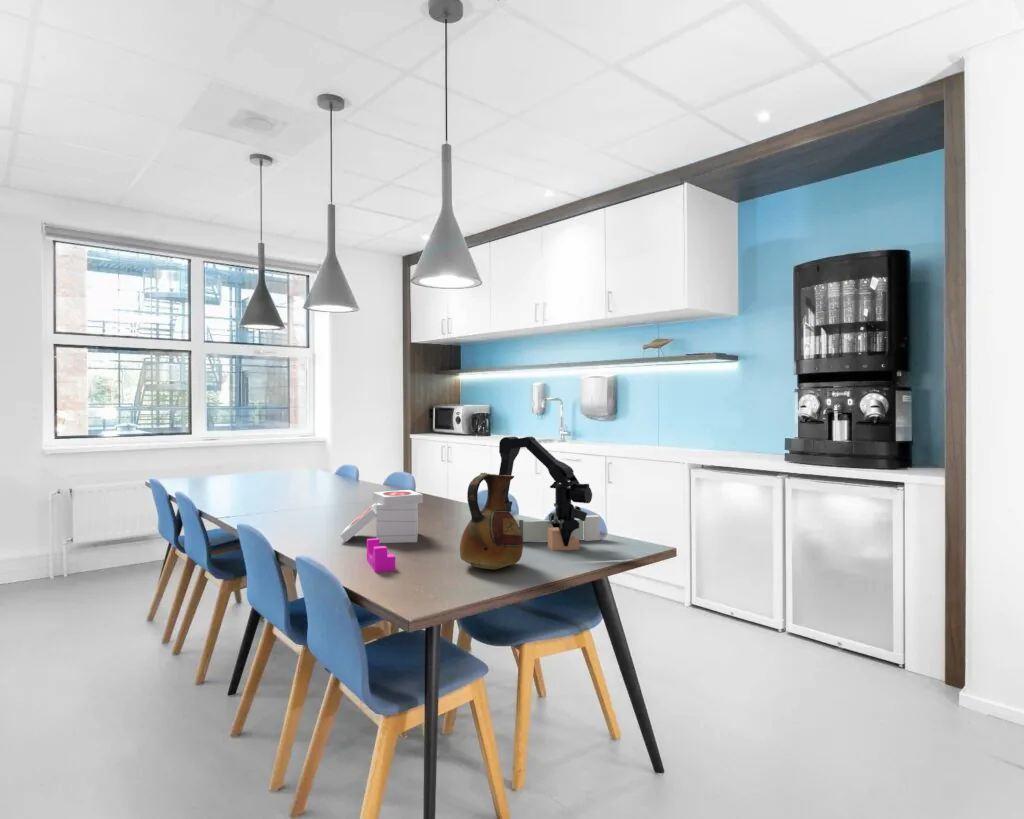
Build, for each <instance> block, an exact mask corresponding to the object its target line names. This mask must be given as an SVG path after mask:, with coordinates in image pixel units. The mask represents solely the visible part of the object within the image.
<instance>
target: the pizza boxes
mask: <svg viewBox="0 0 1024 819" xmlns="http://www.w3.org/2000/svg"><path fill="white" fill-rule="evenodd" d="M372 494H373V495H372V501H373V502H374V504H371V506H370V507H369V508H367V509H366V510H365V511H364V512H363V513H361V514H360V515H359V516H357V518H355V519H353V521H352V522H351V523H349V524H348V525H347V526H346V527H345V528H344V529H343V531H342V532H341V534H340V535H339V536H340V538H341V539H343V542H345V543H346V542H348V541H349V540H350V539H352V537H353V536H355V535H356V534H358V533H359V532H360V531H361V530H362V529H363V528H364V527H365V526H367V525H368V524H369V523H370V522H371V521H373V519H375V518H376V519H375V520H376V521H375V522H376V525H375V526H376V529H375V530H376V532H375V533H376V534H375V536H376V538H379V542H380V544H385V543H386V544H389V543H390V544H391V543H395V544H396V543H418V537H419V536H418V534H419V530H418V529H419V528H418V527H419V524H418V523H419V521H418V520H419V517H418V516H419V514H418V513H419V512H418V510H419V509H418V507H419V504H423V503H424V494H423V493H420V492H417V491H415V490H414V491H413V490H411V489H403V490H400V489H399V490H398V489H397V490H390V491H389V490H386V491H385V490H384V491H374V492H372Z"/></svg>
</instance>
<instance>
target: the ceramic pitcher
mask: <svg viewBox="0 0 1024 819" xmlns="http://www.w3.org/2000/svg"><path fill="white" fill-rule="evenodd" d="M514 478H515V475H499V474H496V473H487V472H480V473H479V475H477V476H475V477H474V478H473V479H472V480H471V481H470V483H469V484H468V487H467V494H466V495H467V496H466V497H467V503H468V508H469V511H470V515H471V519H470V520H469V521H468V523H467V525H466V526H465V528H464V530H463V533H462V536H461V539H460V543H459V556H460V559H461V560H462V561H464V562H465V563H467V564H469V565H470V566H472V567H475V568H480V569H484V570H485V569H486V570H494V571H496V570H500V569H502V568H504V567H509V566H511V565H514V564H517V563H518V562H519V561H520V560H521V559H522V556H523V548H524V544H523V543H524V542H522V535H521V531H520V528H519V526H518V523H517V522H516V520H515V519H514V518H515V517H514V516H513V514H512V513H511V512H510V513H509V512H508V511H507V509H506V504H505V496H506V486H507V484H508V483H509V481H510V480H513V479H514ZM483 481H484V482H485V483H486V487H487V497H486V502H485V504H484V507H483V508H482V509H481V510H480V507H479V501H478V492H479V488H480V484H481V483H482V482H483ZM510 482H511V481H510Z"/></svg>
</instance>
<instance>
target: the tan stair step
mask: <svg viewBox="0 0 1024 819" xmlns="http://www.w3.org/2000/svg"><path fill="white" fill-rule="evenodd" d="M547 548H549V549H550V550H551V551H554V552H555V551H568V550H569V551H571V550H580V539H578V538H576V537H575V536H570V540H569V543H568V546H564V543H563V540H562V537H561V534H560V531H559V528H558V527H555V528H548V541H547Z"/></svg>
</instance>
